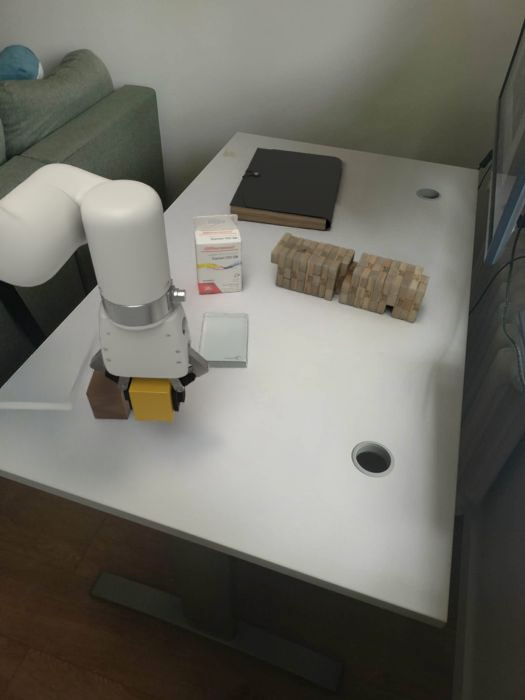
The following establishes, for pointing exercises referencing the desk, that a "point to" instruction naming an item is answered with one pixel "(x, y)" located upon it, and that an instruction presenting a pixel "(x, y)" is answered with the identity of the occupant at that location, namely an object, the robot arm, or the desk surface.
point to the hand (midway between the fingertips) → (156, 401)
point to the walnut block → (106, 398)
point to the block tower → (349, 276)
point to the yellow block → (151, 399)
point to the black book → (288, 189)
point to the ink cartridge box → (218, 254)
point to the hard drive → (224, 339)
